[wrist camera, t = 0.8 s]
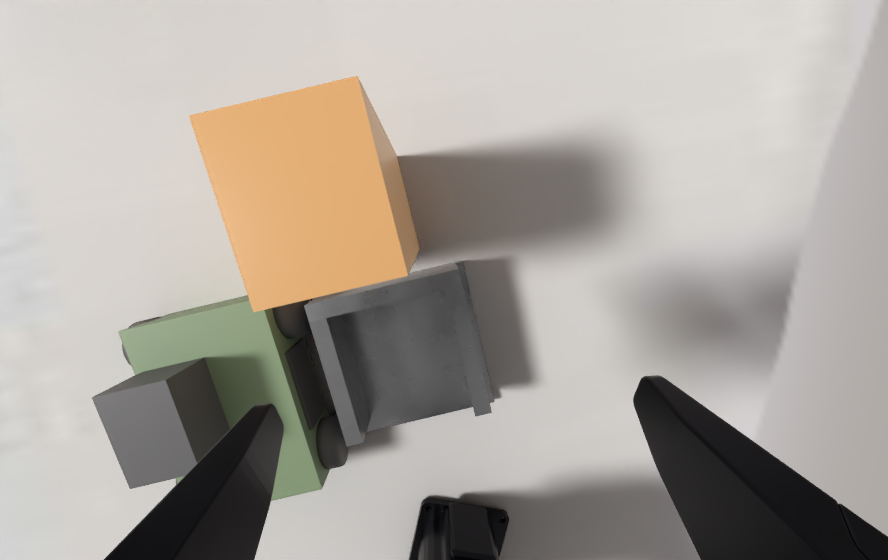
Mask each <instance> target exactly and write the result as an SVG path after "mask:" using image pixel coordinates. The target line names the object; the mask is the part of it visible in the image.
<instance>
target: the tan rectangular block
mask: <svg viewBox="0 0 888 560" xmlns="http://www.w3.org/2000/svg"><path fill="white" fill-rule="evenodd" d="M189 117H190V120H191V124H192V127H193V130H194V133H195V136H196V139H197V142H198V145H199V148H200V151H201V154H202V157H203V160H204V163H205V166H206V169H207V172H208V175H209V178H210V182H211V185H212V188H213V191H214V194H215V197H216V200H217V203H218V206H219V209H220V212H221V215H222V218H223V221H224V224H225V227H226V230H227V233H228V236H229V239H230V243H231V246H232V249H233V252H234V255H235V258H236V261H237V264H238V267H239V270H240V273H241V276H242V279H243V282H244V285H245V288H246V291H247V294H248V297H249V301H250V304H251V307H252V310H253V312H257V311H262V310H266V309H270V308H274V307H278V306H283V305H287V304H291V303H295V302H300V301H304V300H308V299H312V298H316V297H321V296H325V295H329V294H333V293H338V292H342V291H346V290H350V289H354V288H359V287H363V286H367V285H371V284H376V283H380V282H384V281H388V280H392V279H397V278H401V277H405V276H408V275H409V272H410V270H411V268H412V265H413V263H414V261H415V259H416V256H417V254H418V252H419V250H420V248H419V244H418V240H417V236H416V231H415V227H414V223H413V219H412V215H411V211H410V207H409V203H408V199H407V195H406V191H405V186H404V182H403V178H402V174H401V170H400V166H399V162H398V158H397V155H396V153H395V151H394V149H393V147H392V145H391V143H390V141H389V139H388V137H387V135H386V133H385V131H384V129H383V127H382V125H381V123H380V121H379V119H378V117H377V114H376V112H375V110H374V108H373V106H372V104H371V102H370V100H369V98H368V96H367V94H366V92H365V90H364V88H363V86H362V84H361V82H360V80H359V78H358V76H355V77H350V78H346V79H342V80H338V81H333V82H329V83H325V84H321V85H317V86H312V87H308V88H304V89H300V90H295V91H291V92H287V93H283V94H279V95H274V96H270V97H266V98H262V99H257V100H253V101H249V102H245V103H241V104H236V105H232V106H228V107H224V108H219V109H215V110H211V111H207V112H203V113H198V114H194V115H190V116H189Z"/></svg>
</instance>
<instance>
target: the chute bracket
mask: <svg viewBox="0 0 888 560" xmlns="http://www.w3.org/2000/svg"><path fill="white" fill-rule="evenodd" d="M304 307H305V311H306V314H307V317H308V321H309V324H310V327H311V330H312V334H313V337H314V340H315V344H316V347H317V350H318V354H319V357H320V360H321V363H322V367H323V370H324V373H325V377H326V380H327V383H328V386H329V390H330V393H331V396H332V400H333V403H334V406H335V410H336V413H337V416H338V419H339V423H340V426H341V429H342V433H343V436H344V439H345V442H346V446H347V447H349V446H353V445H357V444H361V443H363V441H364V438H365V435H366V432H369V431H373V430H377V429H381V428H386V427H390V426H394V425H398V424H402V423H407V422H411V421H415V420H419V419H423V418H428V417H432V416H436V415H440V414H445V413H449V412H453V411H457V410H461V409H466V408H470V407H473V408H474V412H475V416H479V415H484V414H488V413H492V412H491V407H490V403H491V402H494V397H493V393H492V389H491V384H490V380H489V375H488V371H487V367H486V362H485V358H484V353H483V349H482V344H481V340H480V336H479V331H478V327H477V322H476V318H475V314H474V309H473V305H472V300H471V296H470V292H469V287H468V283H467V278H466V274H465V269H464V265H463V261H459V262H454V263H450V264H446V265H442V266H437V267H433V268H429V269H425V270H421V271H416V272H412V273H409V275H408V276H405V277H401V278H397V279H392V280H388V281H384V282H380V283H376V284H371V285H367V286H363V287H359V288H354V289H350V290H346V291H342V292H338V293H333V294H329V295H325V296H321V297H316V298H313V300H312V301H310V302H309V303H307V304H306V305H304Z"/></svg>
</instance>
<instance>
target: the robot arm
mask: <svg viewBox="0 0 888 560" xmlns="http://www.w3.org/2000/svg"><path fill="white" fill-rule="evenodd" d="M633 402H634V407H635V410H636V413H637V415H638V418H639V421H640V424H641V426H642V429H643V432H644V435H645V437H646V440H647V443H648V445H649V448H650V451H651V454H652V456H653V459H654V462H655V464H656V467H657V469H658V471H659V473H660V475H661V478H662V480H663V482H664V484H665V486H666V488H667V490H668V492H669V494H670V496H671V498H672V500H673V503H674V505H675V507H676V509H677V511H678V513H679V515H680V517H681V519H682V521H683V523H684V525H685V527H686V529H687V532H688V534H689V536H690V538H691V540H692V542H693V544H694V546H695V548H696V550H697V552H698V554H699V556H700V558H701V560H888V537H887V536H886V535H884V534H883V533H882V532H880V531H879V530H877V529H876V528H874V527H873V526H872V525H870V524H869V523H867V522H865V521H864V520H863V519H862V518H860V517H859V516H857V515H856V514H854V513H853V512H852V511H850V510H849V509H848V508H846V507H845V506H843V505H842V504H838V503H837V501H836V500H835V499H833V498H832V497H830V496H829V495H827V494H826V493H825V492H823V491H822V490H821V489H819V488H818V487H816V486H815V485H814V484H812V483H811V482H809V481H808V480H807V479H805V478H804V477H802V476H801V475H800V474H798V473H797V472H795V471H794V470H793V469H791V468H790V467H788V466H787V465H786V464H784V463H783V462H781V461H780V460H779V459H777V458H776V457H774V456H773V455H771V454H770V453H769V452H767V451H766V450H765V449H763V448H762V447H760V446H759V445H758V444H756V443H755V442H753V441H752V440H751V439H749V438H748V437H746V436H745V435H744V434H742V433H741V432H739V431H738V430H737V429H735V428H734V427H732V426H731V425H730V424H728V423H727V422H725V421H724V420H723V419H721V418H720V417H718V416H717V415H715V414H714V413H713V412H711V411H710V410H708V409H707V408H706V407H704V406H703V405H701V404H700V403H699V402H697V401H696V400H694V399H693V398H692V397H690V396H689V395H687V394H686V393H685V392H683V391H682V390H680V389H679V388H678V387H676V386H675V385H673V384H672V383H671V382H669V381H668V380H666V379H665V378H663V377H661V376H657V375H656V376H645V377H643V378H642V379H641V380H640V383H639V385H638V387H637V390H636V392H635V395H634V399H633ZM283 433H284V425H283V422H282V420H281V418H280V416H279V413H278V411H277V409H276V407H275V406H274V405H273V404H272V403H266V404H257V405H254V406H253V407H252V408H250V410H249V411H248V412H247V413H246V414H245V415H244V416H243V417H242V418H241V419H240V420H239V421H238V422H237V423H236V424H235V425H234V426H233V427H232V428H231V429H230V430H229V431H228V432H227V433H226V434H225V435H224V436H223V437H222V438H221V439H220V440H219V441H218V442H217V444H216V445H215V446H214V447H213V448H212V449H211V450H210V451H209V452H208V453H207V454H206V455H205V456H204V457H203V458H202V459H201V460H200V461H199V462H198V463H197V464H196V465H195V466H194V467H193V468H192V469H191V470H190V471H189V472H188V473H187V474H186V475H185V476H184V478H183V479H182V480H181V481H180V482H179V483H178V484H177V485H176V486H175V487H174V488H173V489H172V490H171V491H170V492H169V493H168V494H167V495H166V496H165V497H164V498H163V499H162V500H161V501H160V502H159V503H158V504H157V505H156V506H155V507H154V508H153V509H152V510H151V512H150V513H149V514H148V515H147V516H146V517H145V518H144V519H143V520H142V521H141V522H140V523H139V524H138V525H137V526H136V527H135V528H134V529H133V530H132V531H131V532H130V533H129V534H128V535H127V536H126V537H125V538H124V539H123V540H122V541H121V542H120V543H119V545H118V546H117V547H116V548H115V549H114V550H113V551H112V552H111V553H110V554H109V555H108V556H107V557H106V558H105V559H104V560H254V558H255V555H256V551H257V548H258V544H259V541H260V537H261V534H262V531H263V527H264V524H265V520H266V517H267V513H268V510H269V506H270V502H271V498H272V494H273V489H274V483H275V478H276V472H277V467H278V461H279V455H280V450H281V444H282V439H283ZM428 505H429V506H431V507H425V506H428ZM501 517H504V518H503V519H499V518H501ZM508 522H509V518H508V514H507V512H506V511H504V510H499V509H493V508H487V507H481V506H474V505H468V504H462V503H456V502H449V501H443V500H437V499H431V498H426V499H424V500H423V501H422V503H421V507H420V511H419V516H418V520H417V525H416V529H415V534H414V538H413V543H412V547H411V552H410V556H409V560H499V556H500V553H501V549H502V545H503V541H504V537H505V534H506V530H507V526H508Z"/></svg>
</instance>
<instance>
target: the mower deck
mask: <svg viewBox="0 0 888 560" xmlns="http://www.w3.org/2000/svg"><path fill="white" fill-rule="evenodd" d="M307 303H308V301H307V300H304V301H300V302H295V303H291V304H287V305H283V306H278V307H274V308H270V309H266V310H262V311H257V312H253V310H252V307H251V304H250V301H249V297H248V296H243V297H239V298H235V299H231V300H227V301H222V302H218V303H214V304H210V305H205V306H201V307H197V308H193V309H189V310H184V311H180V312H176V313H172V314H168V315H165V316H162V317H156V318H152V319H148V320H143V321H139V322H136V323H134V324H132V325H131V326H129V328H128V329H125V330H122V331H119V332H118V333H119V335H120V338H121V340H122V348H123V353H124V356H125V358H126V360H127V362H128V363H129V364H130V365H131V366H132V368H133V371H134V373H135V376H133V377H131V378H129V379H127V380H125V381H123V382H121V383H119V384H117V385H115V386H114V387H112V388H110V389H108V390H106V391H104V392H102V393H100V394H98V395H96V396H94V397H92V399H93V401H94V404H95V406H96V409H97V411H98V413H99V416H100V418H101V421H102V423H103V425H104V428H105V430H106V433H107V435H108V437H109V440H110V442H111V445H112V447H113V449H114V452H115V454H116V457H117V459H118V461H119V464H120V466H121V468H122V471H123V473H124V476H125V478H126V480H127V483H128V485H129V488H130V489H132V488H136V487H140V486H145V485H149V484H153V483H157V482H162V481H166V480H170V479H174V478H176V485H177V484H178V483H179V482H180V481H181V480H182V479H183V478H184V476H185V475H186V474H187V473H188V472H189V471H190V470H191V469H192V468H193V467H194V466H195V465H196V464H197V463H198V462H199V461H200V460H201V459H202V458H203V457H204V456H205V455H206V454H207V453H208V452H209V451H210V450H211V449H212V448H213V447H214V446H215V445H216V444H217V442H218V441H219V440H220V439H221V438H222V437H223V436H224V435H225V434H226V433H227V432H228V431H229V430H230V429H231V428H232V427H233V426H234V425H235V424H236V423H237V422H238V421H239V420H240V419H241V418H242V417H243V416H244V415H245V414H246V413H247V412H248V411H249V410H250V408H252V407H253V406H254V405H257V404H266V403H272V404H273V405H274V406H275V407H276V409H277V411H278V413H279V416H280V418H281V420H282V422H283V425H284V433H283V439H282V444H281V450H280V455H279V461H278V467H277V472H276V478H275V483H274V489H273V494H272V498H271V501H273V500H277V499H281V498H285V497H290V496H294V495H298V494H302V493H306V492H311V491H315V490H319V489H322V487H323V485H324V482H325V480H326V478H327V475H328V473H329V470H330V469H332V468H336V467H341V466H343V465H344V464H345V462H346V460H347V455H348V447H347V446H346V442H345V439H344V436H343V433H342V429H341V426H340V423H339V419H338V416H337V414H336V415H331V416H329V415H328V412H327V409H326V405H325V402H324V399H323V396H322V392H321V389H320V386H319V383H318V379H317V376H316V373H315V370H314V366H313V363H312V360H311V357H310V353H309V350H308V347H307V344H306V340H305V337H304V335H307V334H308V333H309V331H310V328H311V327H310V324H309V321H308V317H307V314H306V311H305V307H304V305H306V304H307Z"/></svg>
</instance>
